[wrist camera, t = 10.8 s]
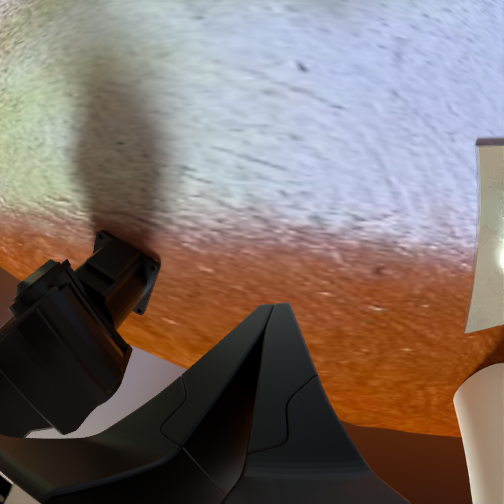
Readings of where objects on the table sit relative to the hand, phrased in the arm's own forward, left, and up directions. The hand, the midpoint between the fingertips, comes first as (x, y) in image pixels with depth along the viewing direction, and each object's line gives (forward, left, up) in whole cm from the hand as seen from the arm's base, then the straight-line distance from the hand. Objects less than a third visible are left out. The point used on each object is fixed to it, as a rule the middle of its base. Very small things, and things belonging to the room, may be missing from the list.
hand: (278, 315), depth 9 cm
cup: (-7, -30, -13) cm, 34 cm away
